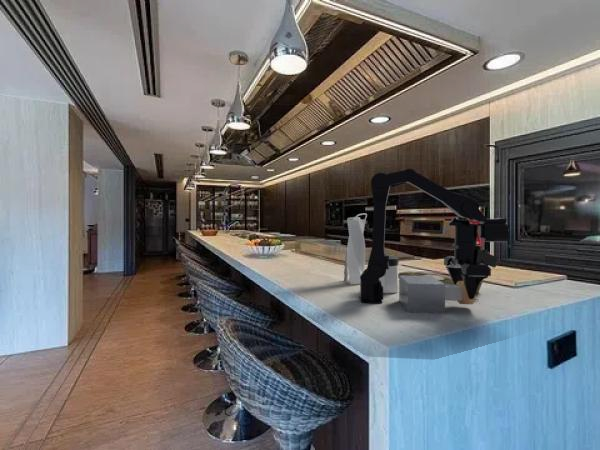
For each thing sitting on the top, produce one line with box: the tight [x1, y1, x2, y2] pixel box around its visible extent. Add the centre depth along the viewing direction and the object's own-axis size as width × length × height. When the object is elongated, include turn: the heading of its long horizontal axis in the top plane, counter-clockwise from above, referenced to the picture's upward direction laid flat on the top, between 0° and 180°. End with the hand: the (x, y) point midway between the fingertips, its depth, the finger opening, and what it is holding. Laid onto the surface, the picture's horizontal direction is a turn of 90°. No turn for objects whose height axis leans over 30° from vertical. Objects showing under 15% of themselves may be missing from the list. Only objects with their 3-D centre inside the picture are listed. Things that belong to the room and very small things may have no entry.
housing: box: [398, 274, 446, 314], centre depth 95 cm, size 10×12×8 cm
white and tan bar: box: [444, 281, 476, 305], centre depth 94 cm, size 14×7×7 cm, turn 84°
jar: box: [379, 255, 400, 294], centre depth 114 cm, size 9×8×12 cm
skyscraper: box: [343, 212, 368, 286], centre depth 127 cm, size 8×8×28 cm
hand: (464, 294), depth 93 cm, fingers open, 9 cm apart
